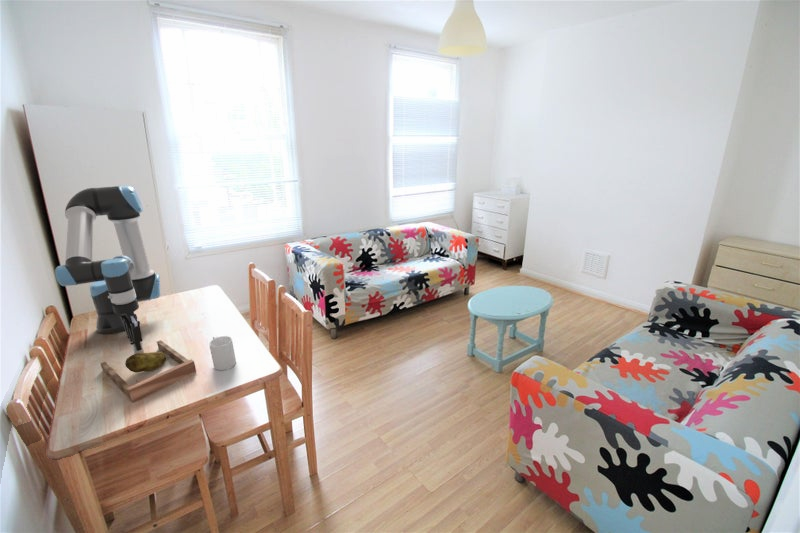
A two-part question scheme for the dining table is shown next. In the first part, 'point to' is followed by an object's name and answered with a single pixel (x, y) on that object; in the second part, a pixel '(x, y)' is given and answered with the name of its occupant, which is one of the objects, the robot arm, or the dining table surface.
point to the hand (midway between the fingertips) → (139, 356)
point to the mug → (222, 352)
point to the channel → (156, 381)
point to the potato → (145, 361)
